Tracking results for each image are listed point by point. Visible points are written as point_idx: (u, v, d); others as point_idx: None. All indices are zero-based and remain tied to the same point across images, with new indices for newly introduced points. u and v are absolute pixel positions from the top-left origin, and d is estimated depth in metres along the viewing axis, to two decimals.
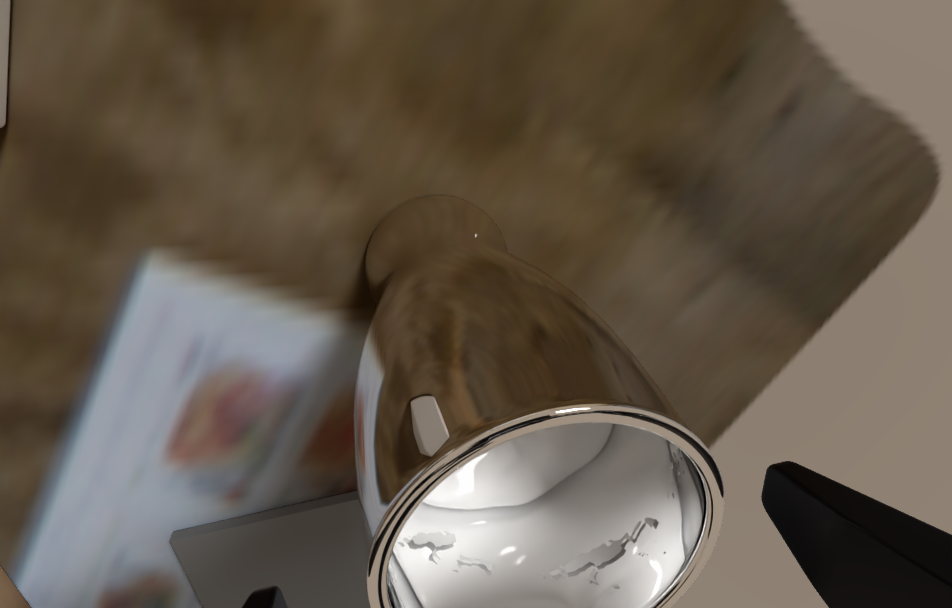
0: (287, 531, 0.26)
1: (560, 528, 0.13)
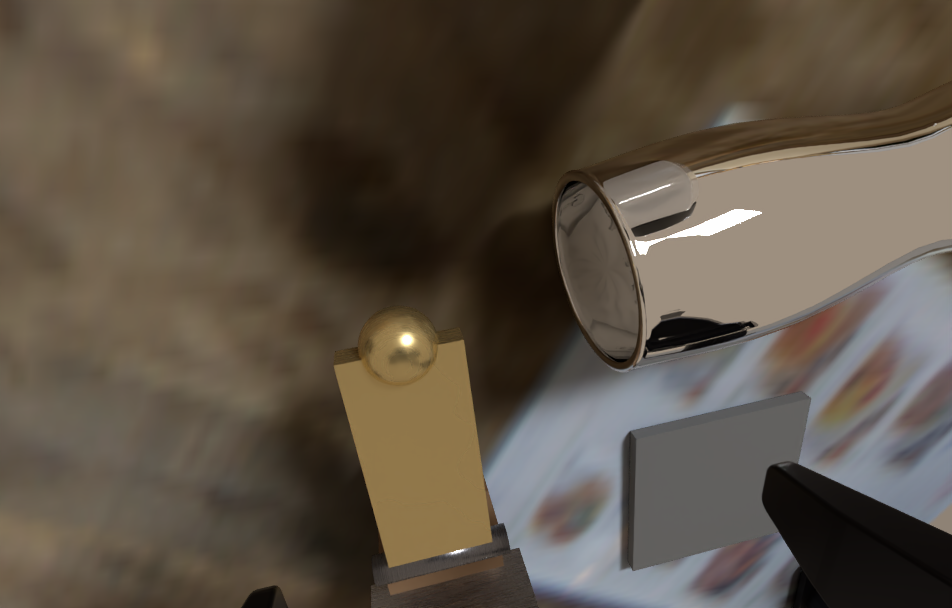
0: (737, 432, 0.25)
1: None
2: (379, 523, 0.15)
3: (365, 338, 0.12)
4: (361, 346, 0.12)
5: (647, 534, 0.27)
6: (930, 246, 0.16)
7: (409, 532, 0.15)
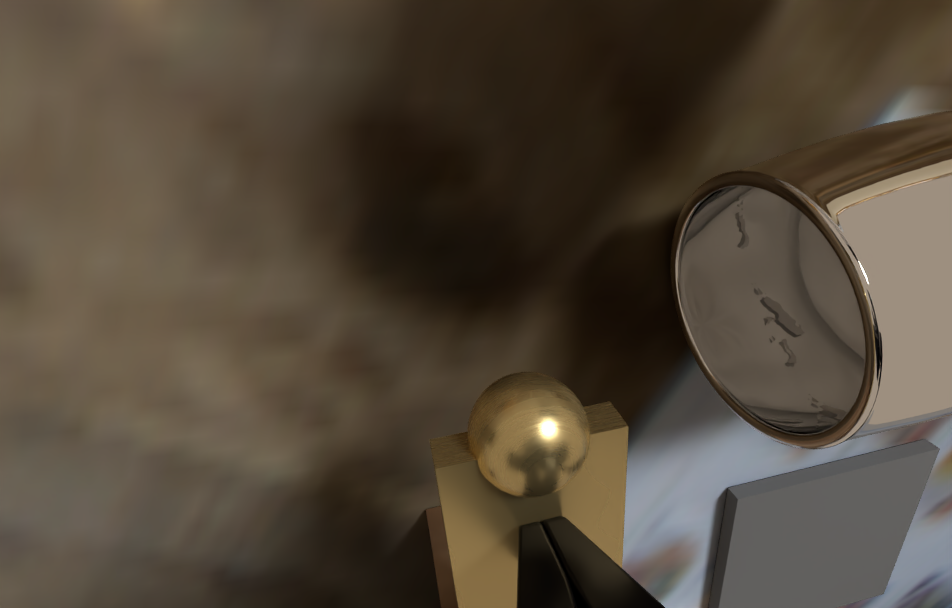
0: (851, 489, 0.21)
1: None
2: None
3: (487, 429, 0.08)
4: (480, 440, 0.08)
5: (734, 604, 0.23)
6: None
7: None
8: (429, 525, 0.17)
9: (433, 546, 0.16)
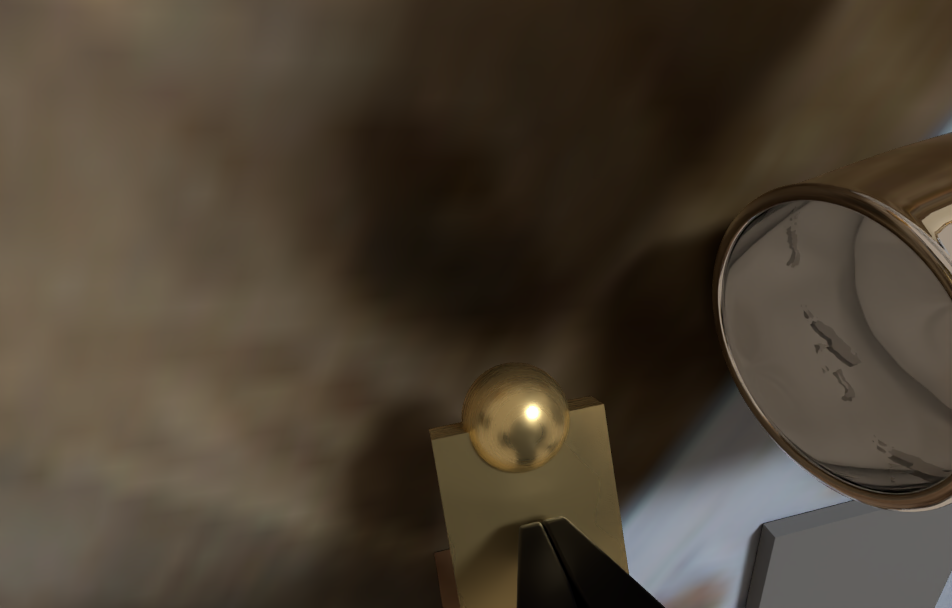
0: (897, 524, 0.19)
1: (945, 444, 0.12)
2: None
3: (475, 399, 0.09)
4: (469, 411, 0.09)
5: None
6: None
7: None
8: (438, 572, 0.15)
9: (443, 598, 0.14)
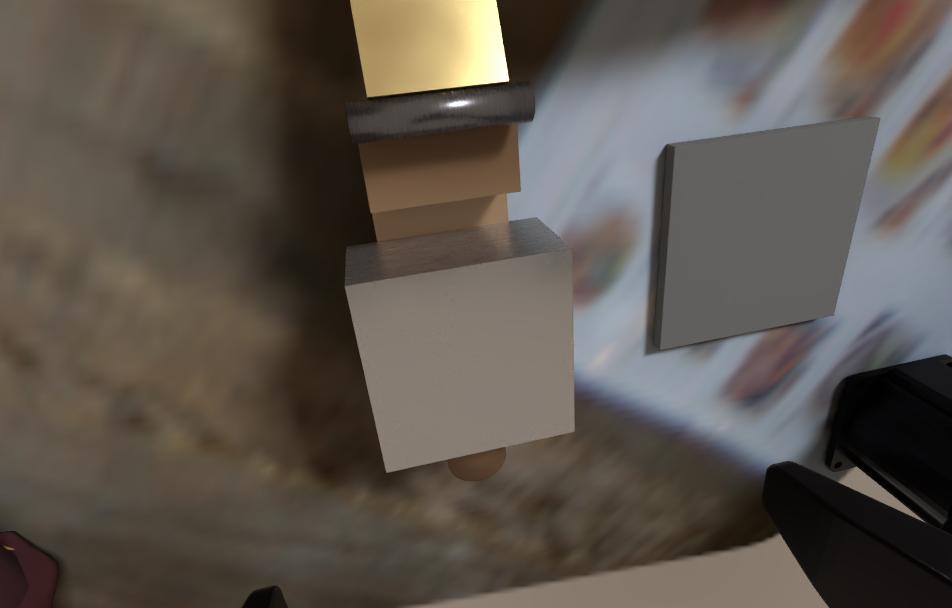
0: (792, 157, 0.21)
1: None
2: (355, 11, 0.11)
3: None
4: None
5: (679, 297, 0.23)
6: None
7: (395, 37, 0.11)
8: None
9: None
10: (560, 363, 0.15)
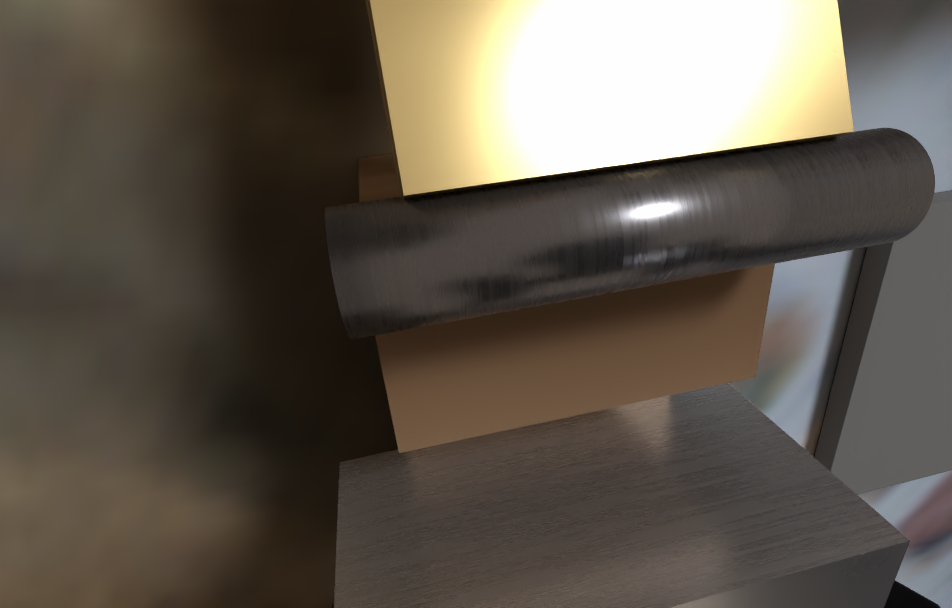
0: None
1: None
2: None
3: None
4: None
5: (863, 431, 0.15)
6: None
7: None
8: (360, 164, 0.09)
9: (362, 174, 0.08)
10: None
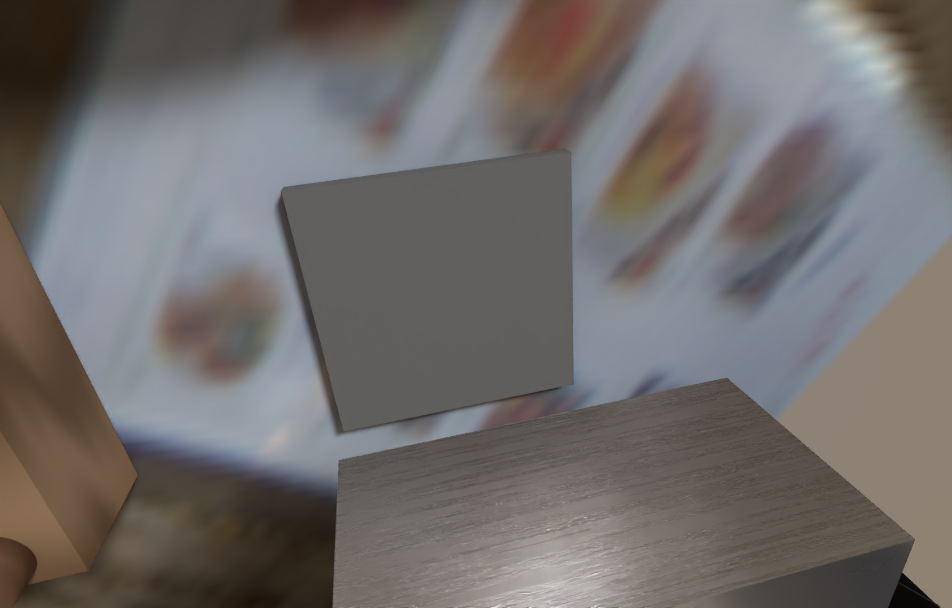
0: (458, 201, 0.17)
1: None
2: None
3: None
4: None
5: (350, 370, 0.18)
6: None
7: None
8: None
9: None
10: None
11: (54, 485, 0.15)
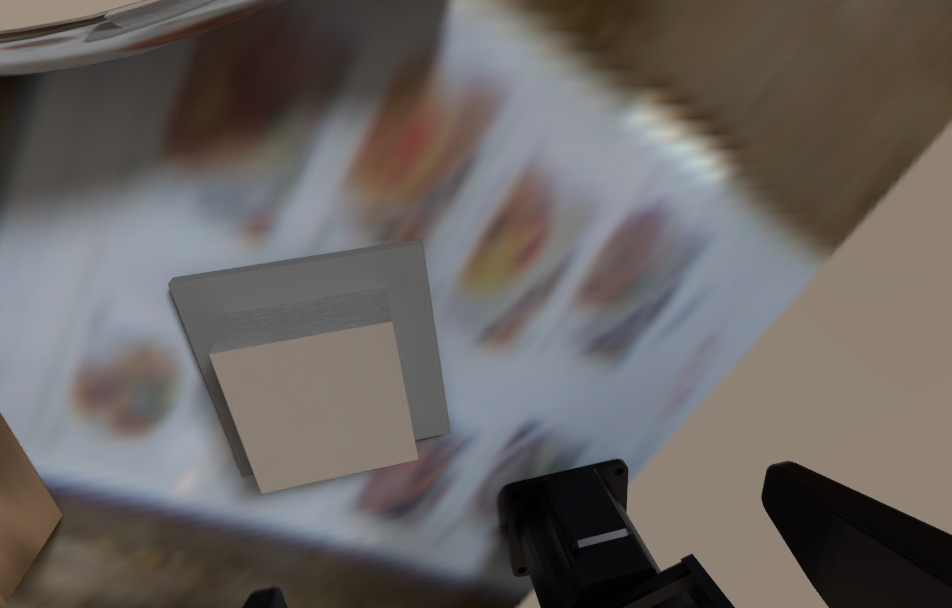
0: (326, 286, 0.19)
1: None
2: None
3: None
4: None
5: None
6: None
7: None
8: None
9: None
10: (397, 407, 0.19)
11: None
